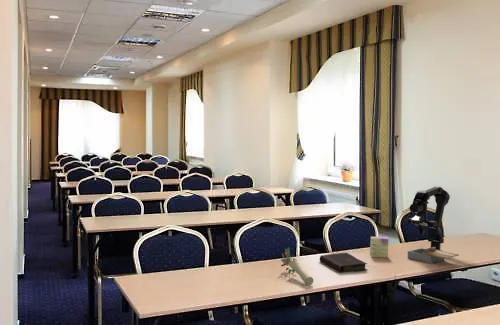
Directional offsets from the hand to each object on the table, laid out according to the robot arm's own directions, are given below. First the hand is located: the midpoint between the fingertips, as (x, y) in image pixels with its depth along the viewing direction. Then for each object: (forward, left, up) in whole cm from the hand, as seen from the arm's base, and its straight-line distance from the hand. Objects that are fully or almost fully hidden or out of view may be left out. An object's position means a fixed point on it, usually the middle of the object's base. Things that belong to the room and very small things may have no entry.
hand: (421, 235), depth 324 cm
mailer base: (+6, +7, -13) cm, 15 cm away
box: (+23, -15, -13) cm, 30 cm away
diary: (+59, -12, -13) cm, 61 cm away
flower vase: (+96, -13, -13) cm, 97 cm away
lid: (+6, +16, -8) cm, 19 cm away
